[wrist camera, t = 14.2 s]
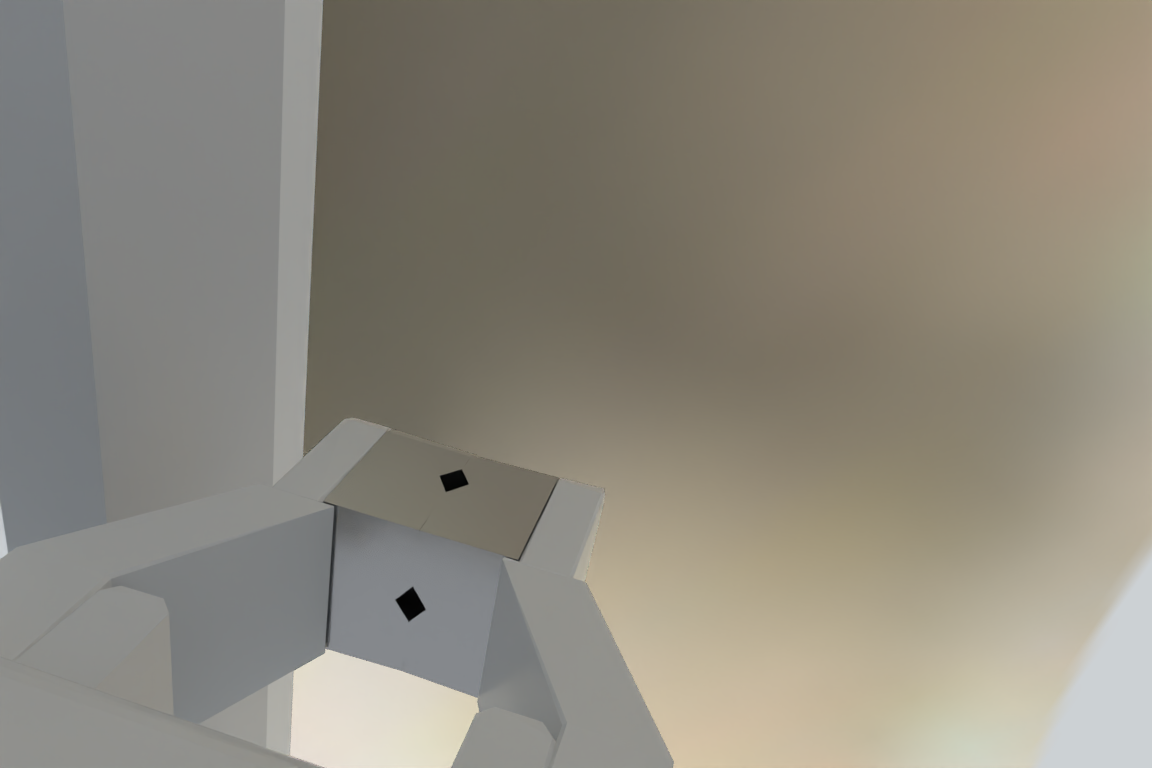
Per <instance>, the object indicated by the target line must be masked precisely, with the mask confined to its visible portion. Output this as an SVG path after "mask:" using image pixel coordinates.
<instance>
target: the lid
mask: <svg viewBox="0 0 1152 768" xmlns="http://www.w3.org/2000/svg"><path fill="white" fill-rule="evenodd" d="M322 16H323V0H0V559H1V558H2V557H4V556H5V555H7V554H8V553H9V552H11V551H12V550H14V549H15V548H16V547H19V546H23V545H27V544H30V543H34V542H38V541H42V540H46V539H49V538H53V537H57V536H61V535H65V534H69V533H72V532H76V531H80V530H84V529H88V528H91V527H95V526H99V525H103V524H107V523H110V522H114V521H118V520H122V519H126V518H129V517H133V516H137V515H141V514H145V513H149V512H152V511H156V510H160V509H164V508H168V507H171V506H175V505H179V504H183V503H187V502H190V501H194V500H198V499H202V498H206V497H209V496H213V495H217V494H221V493H225V492H228V491H232V490H236V489H240V488H244V487H248V486H251V485H255V484H262V485H266V486H269V487H273V486H274V485H275V484H276V483H277V482H278V481H279V480H280V479H281V478H282V477H283V476H284V475H285V474H286V473H287V472H288V471H289V470H291V469H292V468H293V467H294V466H295V465H296V464H297V463H298V462H299V461H300V460H301V459H302V458H303V447H304V424H305V401H306V379H307V356H308V333H309V311H310V288H311V265H312V243H313V220H314V197H315V175H316V152H317V129H318V106H319V84H320V61H321V38H322ZM293 673H294V671H292V672H290V673H289V674H287V675H285V676H283V677H282V678H280V679H278V680H276V681H274V682H273V683H271V684H269V685H267V686H266V687H264V688H262V689H260V690H258V691H257V692H255V693H253V694H251V695H250V696H248V697H246V698H244V699H242V700H241V701H239V702H237V703H235V704H234V705H232V706H230V707H228V708H227V709H225V710H223V711H221V712H219V713H218V714H216V715H214V716H212V717H211V718H209V719H207V720H205V721H203V722H202V723H200V724H199V725H202V726H205V727H208V728H211V729H214V730H217V731H219V732H222V733H225V734H228V735H231V736H234V737H237V738H240V739H243V740H246V741H249V742H252V743H255V744H257V745H260V746H263V747H266V748H269V749H272V750H275V751H278V752H281V753H284V754H287V755H290V742H291V719H292V696H293Z"/></svg>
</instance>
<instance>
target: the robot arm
mask: <svg viewBox="0 0 1152 768" xmlns="http://www.w3.org/2000/svg"><path fill="white" fill-rule="evenodd" d="M604 499H605V490H604V488H600V487H596V486H592V485H588V484H584V483H580V482H576V481H572V480H568V479H564V478H561V479H559V478H558V477H555V476H551V475H547V474H543V473H539V472H535V471H532V470H528V469H524V468H520V467H516V466H513V465H509V464H505V463H501V462H497V461H493V460H490V459H486V458H482V457H478V456H477V455H476V454H473V453H470V452H466V451H463V450H460V449H457V448H453V447H450V446H447V445H444V444H441V443H437V442H434V441H431V440H428V439H424V438H421V437H418V436H415V435H411V434H408V433H405V432H402V431H399V430H392V429H391V428H390V427H386V426H383V425H379V424H375V423H372V422H368V421H364V420H361V419H357V418H345V419H344V420H342V421H341V422H340V423H339V424H338V425H337V426H336V427H335V428H334V429H333V430H332V431H331V432H330V433H329V434H327V435H326V436H325V437H324V438H323V439H322V440H321V441H320V442H319V443H318V444H317V445H316V446H315V447H314V448H313V449H312V450H311V451H310V452H308V453H307V454H306V455H305V456H304V457H303V458H302V459H301V460H300V461H299V462H298V463H297V464H296V465H295V466H294V467H293V468H292V469H291V470H289V471H288V472H287V473H286V474H285V475H284V476H283V477H282V478H281V479H280V480H279V481H278V482H277V483H276V484H275V485H274V486H273V487H269V486H266V485H262V484H255V485H251V486H248V487H244V488H240V489H236V490H232V491H228V492H225V493H221V494H217V495H213V496H209V497H206V498H202V499H198V500H194V501H190V502H187V503H183V504H179V505H175V506H171V507H168V508H164V509H160V510H156V511H152V512H149V513H145V514H141V515H137V516H133V517H129V518H126V519H122V520H118V521H114V522H110V523H107V524H103V525H99V526H95V527H91V528H88V529H84V530H80V531H76V532H72V533H69V534H65V535H61V536H57V537H53V538H49V539H46V540H42V541H38V542H34V543H30V544H27V545H23V546H19V547H16V548H15V549H14V550H12V551H11V552H9V553H8V554H7V555H5V556H4V557H2V558H1V559H0V768H325V767H322V766H319V765H316V764H313V763H310V762H307V761H304V760H301V759H298V758H295V757H292V756H290V755H287V754H284V753H281V752H278V751H275V750H272V749H269V748H266V747H263V746H260V745H257V744H255V743H252V742H249V741H246V740H243V739H240V738H237V737H234V736H231V735H228V734H225V733H222V732H219V731H217V730H214V729H211V728H208V727H205V726H202V725H199V724H200V723H202V722H203V721H205V720H207V719H209V718H211V717H212V716H214V715H216V714H218V713H219V712H221V711H223V710H225V709H227V708H228V707H230V706H232V705H234V704H235V703H237V702H239V701H241V700H242V699H244V698H246V697H248V696H250V695H251V694H253V693H255V692H257V691H258V690H260V689H262V688H264V687H266V686H267V685H269V684H271V683H273V682H274V681H276V680H278V679H280V678H282V677H283V676H285V675H287V674H289V673H290V672H292V671H294V670H296V669H297V668H299V667H301V666H303V665H305V664H306V663H308V662H310V661H312V660H313V659H315V658H317V657H319V656H321V655H322V654H324V653H325V649H329V650H332V651H336V652H339V653H343V654H346V655H349V656H353V657H356V658H360V659H363V660H366V661H370V662H373V663H377V664H380V665H384V666H387V667H390V668H394V669H397V670H401V671H404V672H406V673H409V674H412V675H415V676H418V677H420V678H423V679H426V680H429V681H432V682H435V683H437V684H440V685H443V686H446V687H449V688H451V689H454V690H457V691H460V692H463V693H466V694H468V695H471V696H474V697H477V698H478V701H477V702H478V707H479V713H477V714H476V715H475V717H474V719H473V721H472V723H471V726H470V728H469V730H468V732H467V734H466V736H465V739H464V741H463V743H462V745H461V747H460V749H459V752H458V754H457V756H456V758H455V760H454V762H453V765H452V767H451V768H673V764H674V761H673V759H672V757H671V755H670V753H669V751H668V749H667V747H666V745H665V743H664V741H663V738H662V736H661V734H660V732H659V730H658V728H657V726H656V724H655V722H654V720H653V718H652V716H651V714H650V712H649V710H648V708H647V706H646V704H645V702H644V700H643V698H642V695H641V693H640V691H639V689H638V687H637V685H636V683H635V681H634V679H633V677H632V675H631V673H630V671H629V669H628V667H627V665H626V663H625V661H624V659H623V657H622V655H621V653H620V650H619V648H618V646H617V644H616V642H615V640H614V638H613V636H612V634H611V632H610V630H609V628H608V626H607V624H606V622H605V620H604V618H603V616H602V614H601V612H600V610H599V607H598V605H597V603H596V601H595V599H594V597H593V595H592V593H591V591H590V589H589V587H588V585H587V583H586V582H585V579H586V575H587V571H588V567H589V563H590V559H591V555H592V551H593V546H594V542H595V538H596V534H597V530H598V526H599V522H600V518H601V514H602V509H603V505H604Z"/></svg>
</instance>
